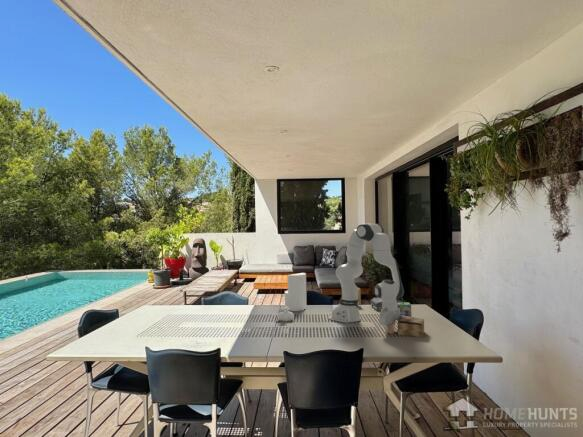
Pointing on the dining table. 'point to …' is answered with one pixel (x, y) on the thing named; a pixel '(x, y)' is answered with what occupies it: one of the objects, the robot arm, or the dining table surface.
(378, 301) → the towel
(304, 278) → the cylinder
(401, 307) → the chalk box
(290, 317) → the bust
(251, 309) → the dining table surface
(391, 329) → the cube
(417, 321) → the lid
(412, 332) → the crate
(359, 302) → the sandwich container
